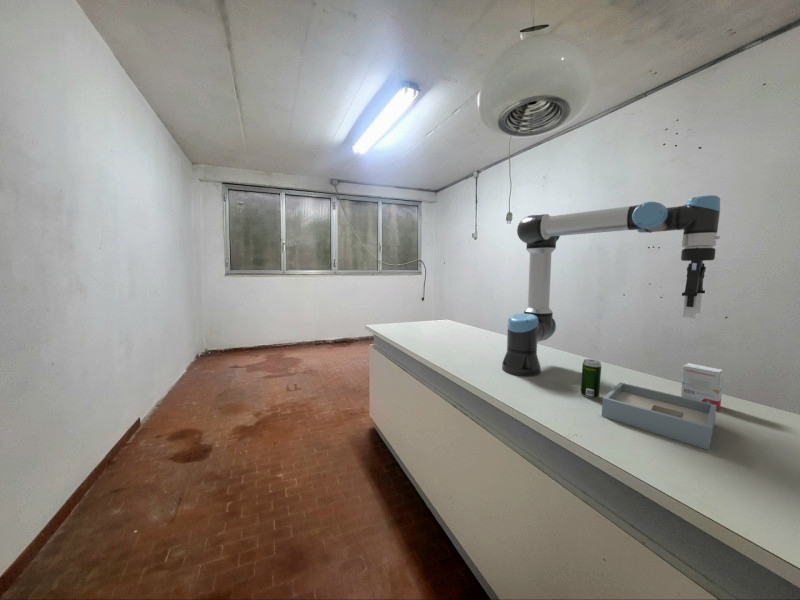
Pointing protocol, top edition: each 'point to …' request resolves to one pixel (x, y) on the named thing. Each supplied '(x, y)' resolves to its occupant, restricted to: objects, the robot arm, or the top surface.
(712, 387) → the ink box
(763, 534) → the top surface
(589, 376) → the beer can
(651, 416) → the inlet box
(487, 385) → the top surface
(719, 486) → the top surface
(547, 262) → the robot arm
